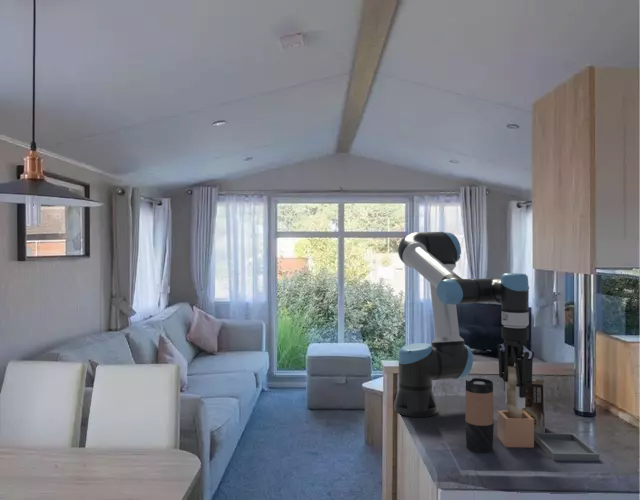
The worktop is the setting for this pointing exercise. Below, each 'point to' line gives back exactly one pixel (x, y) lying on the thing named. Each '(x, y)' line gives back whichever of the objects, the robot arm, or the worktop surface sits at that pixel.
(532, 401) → the coffee box
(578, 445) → the tray
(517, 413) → the dowel
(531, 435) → the pot
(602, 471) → the worktop surface
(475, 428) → the travel mug
